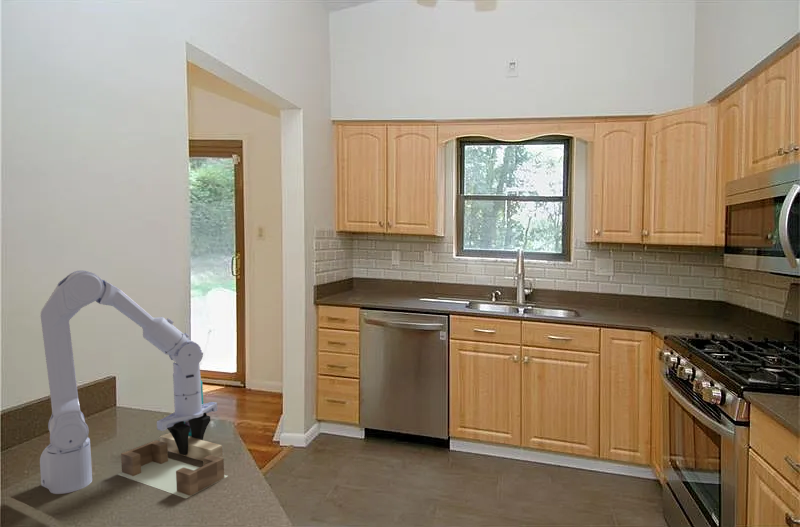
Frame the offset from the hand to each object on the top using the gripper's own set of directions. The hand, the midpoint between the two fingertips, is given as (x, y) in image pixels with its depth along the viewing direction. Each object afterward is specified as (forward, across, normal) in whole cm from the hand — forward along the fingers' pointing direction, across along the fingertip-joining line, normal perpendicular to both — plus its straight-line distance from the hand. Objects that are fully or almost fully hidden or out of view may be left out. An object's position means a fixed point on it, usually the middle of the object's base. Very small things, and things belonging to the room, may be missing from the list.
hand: (190, 451), depth 114 cm
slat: (+2, 0, 0) cm, 2 cm away
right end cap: (0, -9, -15) cm, 18 cm away
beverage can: (+2, +9, +11) cm, 14 cm away
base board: (+2, -9, -6) cm, 11 cm away
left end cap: (0, -9, +3) cm, 10 cm away
